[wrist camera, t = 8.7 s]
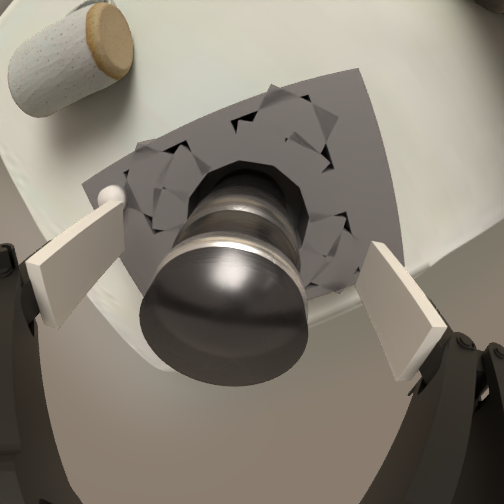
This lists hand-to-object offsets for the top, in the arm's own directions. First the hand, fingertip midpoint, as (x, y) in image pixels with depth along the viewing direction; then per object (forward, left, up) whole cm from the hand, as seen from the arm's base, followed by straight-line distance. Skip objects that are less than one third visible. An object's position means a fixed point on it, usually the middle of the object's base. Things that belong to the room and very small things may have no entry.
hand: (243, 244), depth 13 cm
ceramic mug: (+7, -18, -9) cm, 21 cm away
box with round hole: (0, 0, -9) cm, 9 cm away
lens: (0, 0, -6) cm, 6 cm away
